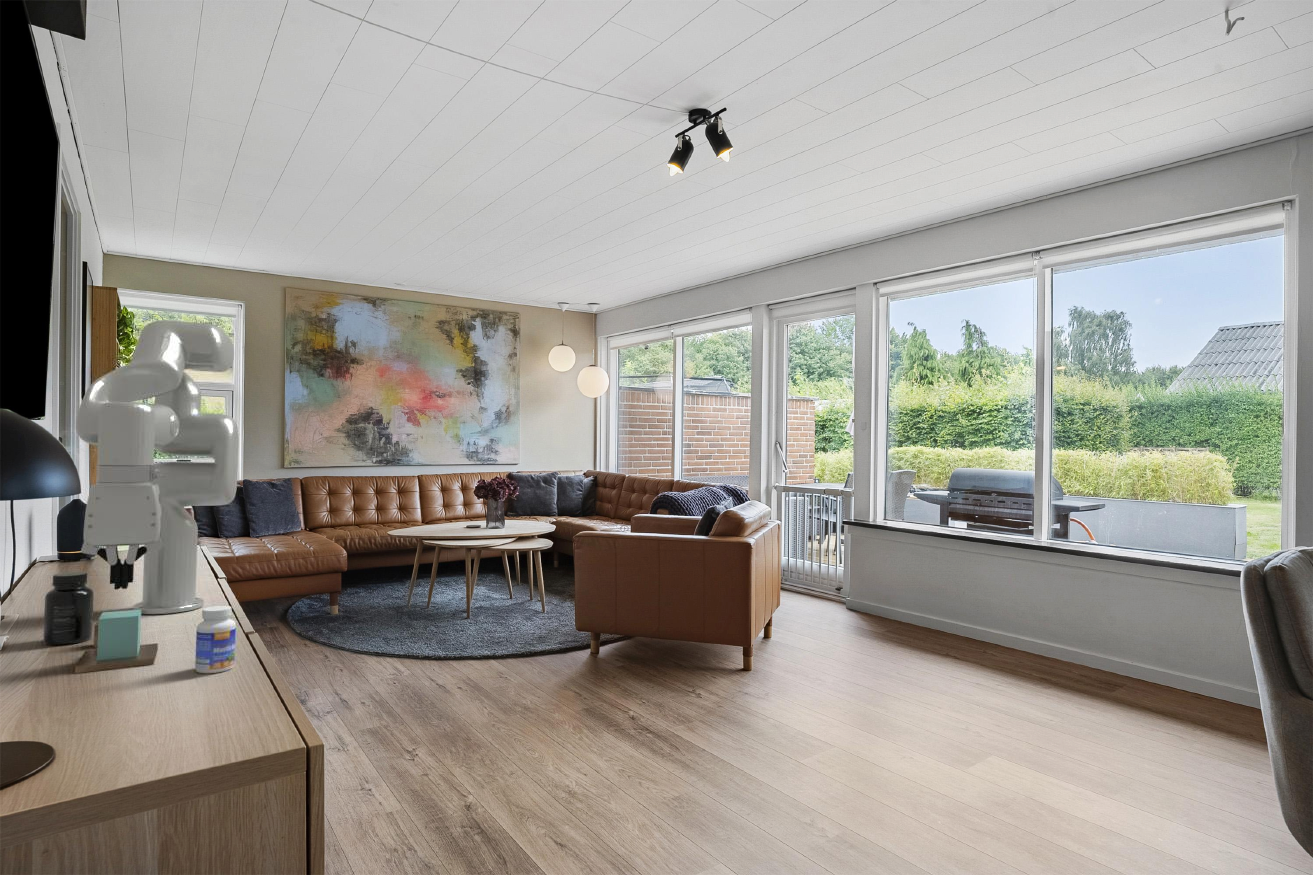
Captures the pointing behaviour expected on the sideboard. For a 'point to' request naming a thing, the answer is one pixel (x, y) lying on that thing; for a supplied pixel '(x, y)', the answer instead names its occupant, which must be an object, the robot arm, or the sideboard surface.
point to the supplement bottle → (68, 610)
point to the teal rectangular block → (119, 634)
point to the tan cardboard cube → (96, 635)
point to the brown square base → (116, 660)
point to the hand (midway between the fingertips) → (121, 587)
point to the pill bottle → (215, 640)
